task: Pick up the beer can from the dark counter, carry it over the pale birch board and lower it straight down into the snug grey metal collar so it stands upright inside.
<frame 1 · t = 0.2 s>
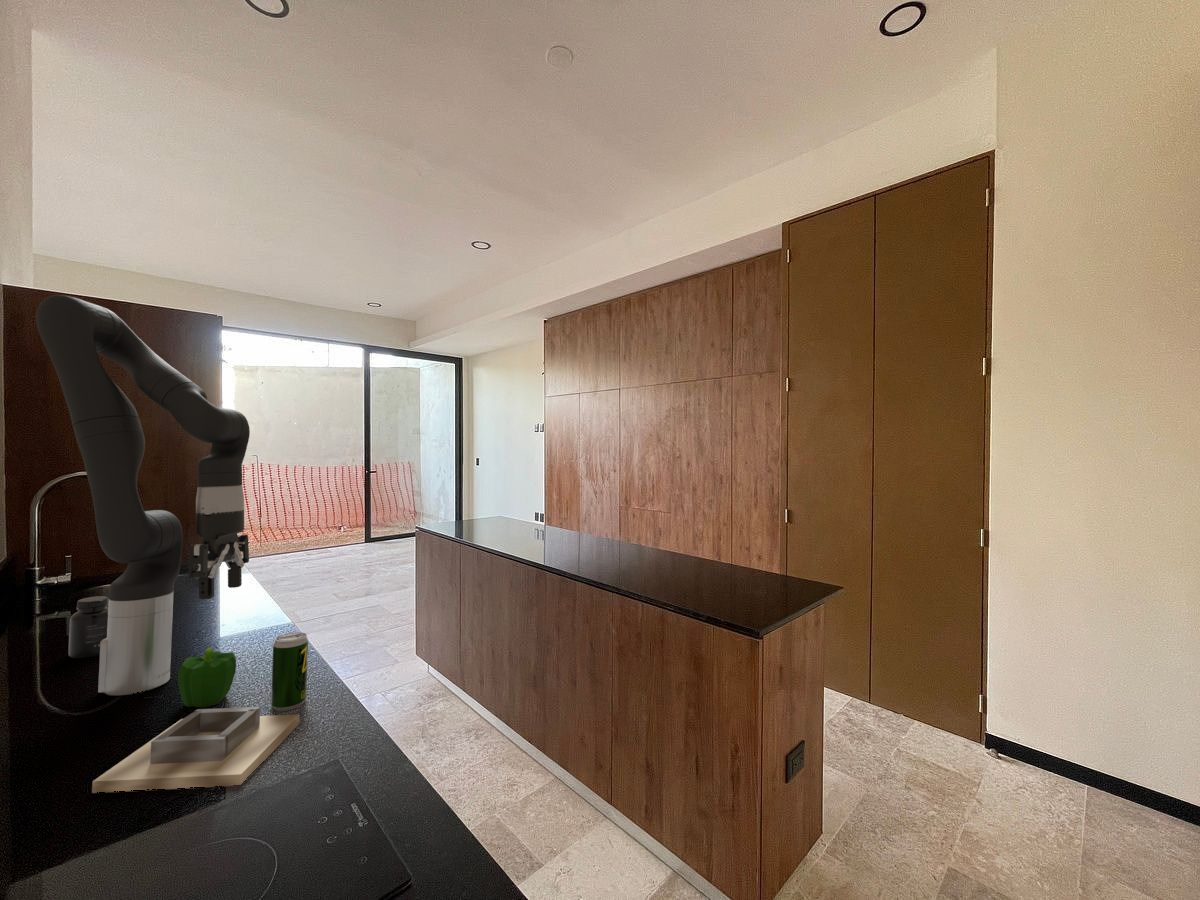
hand: (221, 592, 97), 18 cm above the table, tool pointing down, fingers open, 8 cm apart
bell pepper: (205, 703, 89), on the table
collar board: (208, 754, 74), on the table
supplement bottle: (90, 653, 111), on the table
beer can: (288, 705, 89), on the table
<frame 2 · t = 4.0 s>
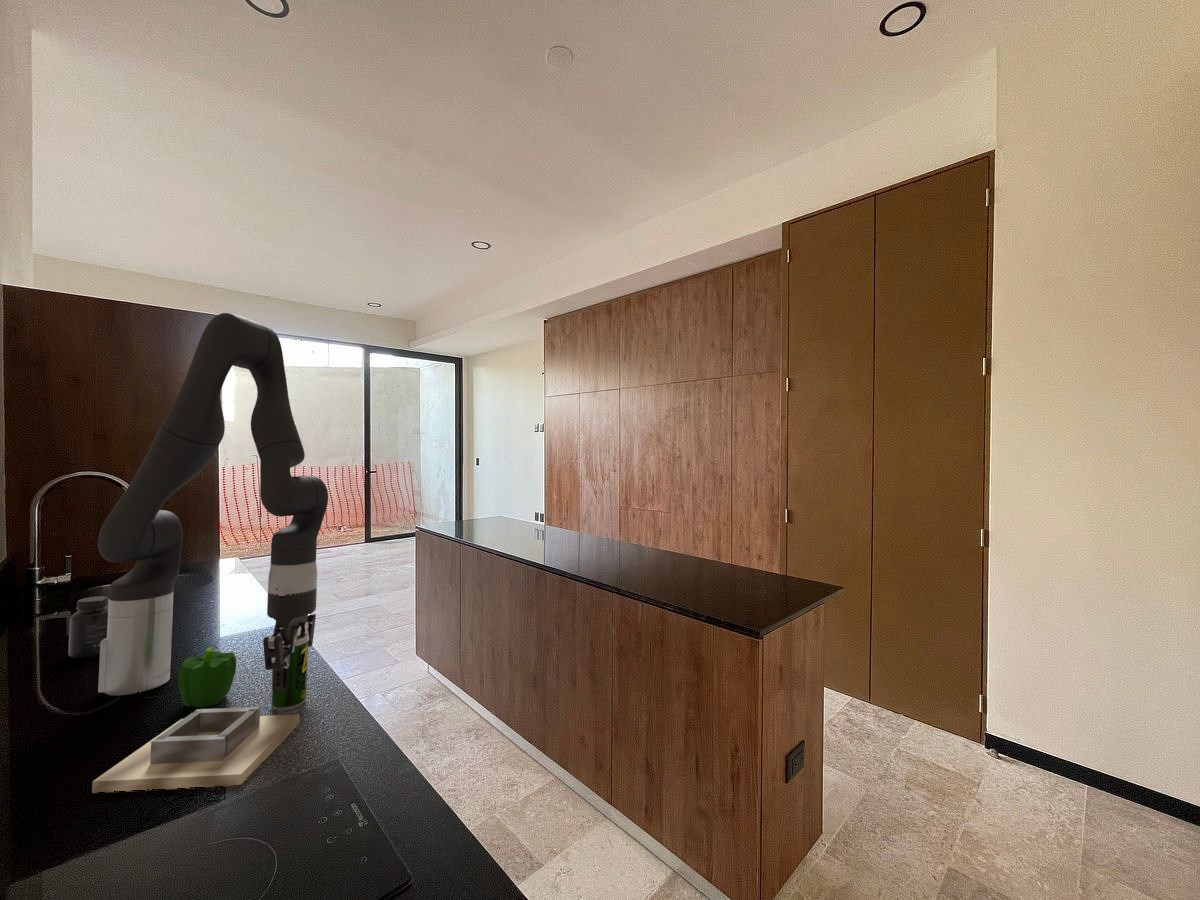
hand: (289, 682, 89), 4 cm above the table, tool pointing down, fingers closed on beer can, 5 cm apart
beer can: (288, 705, 89), on the table, touching gripper
everything else where it was.
when the fingers open (6 cm above the table, at t = 10.8 s): beer can stays where it is, resting on collar board.
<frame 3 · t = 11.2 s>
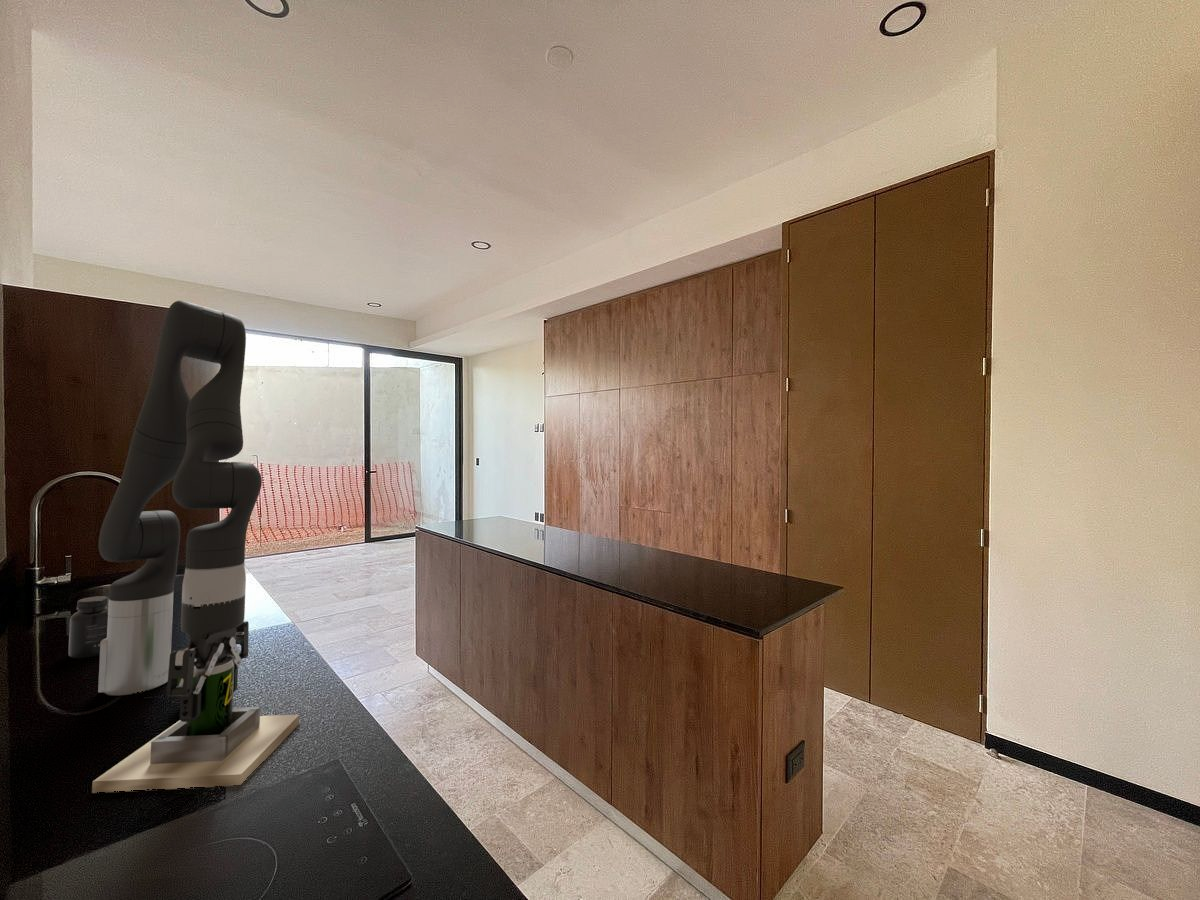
hand: (210, 705, 74), 7 cm above the table, tool pointing down, fingers open, 8 cm apart
beer can: (208, 744, 74), point 1 cm above the table, touching collar board
everything else where it was.
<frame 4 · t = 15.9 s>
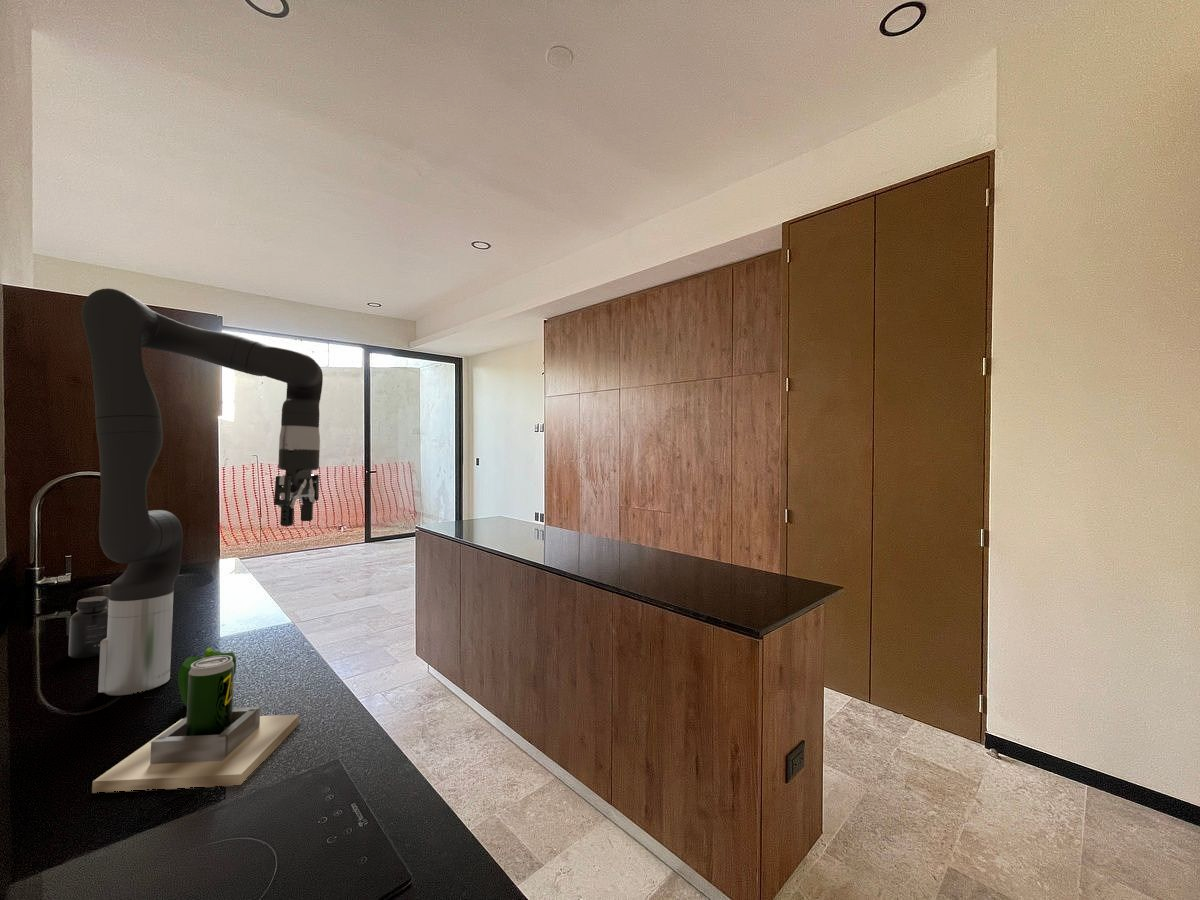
hand: (297, 523, 107), 30 cm above the table, tool pointing down, fingers open, 8 cm apart
nothing on the table moved.
at the end: beer can 0.1 cm off-centre on the collar board, point 1.3 cm above the collar board's base; beer can tilted 0°; the gripper is holding nothing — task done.
